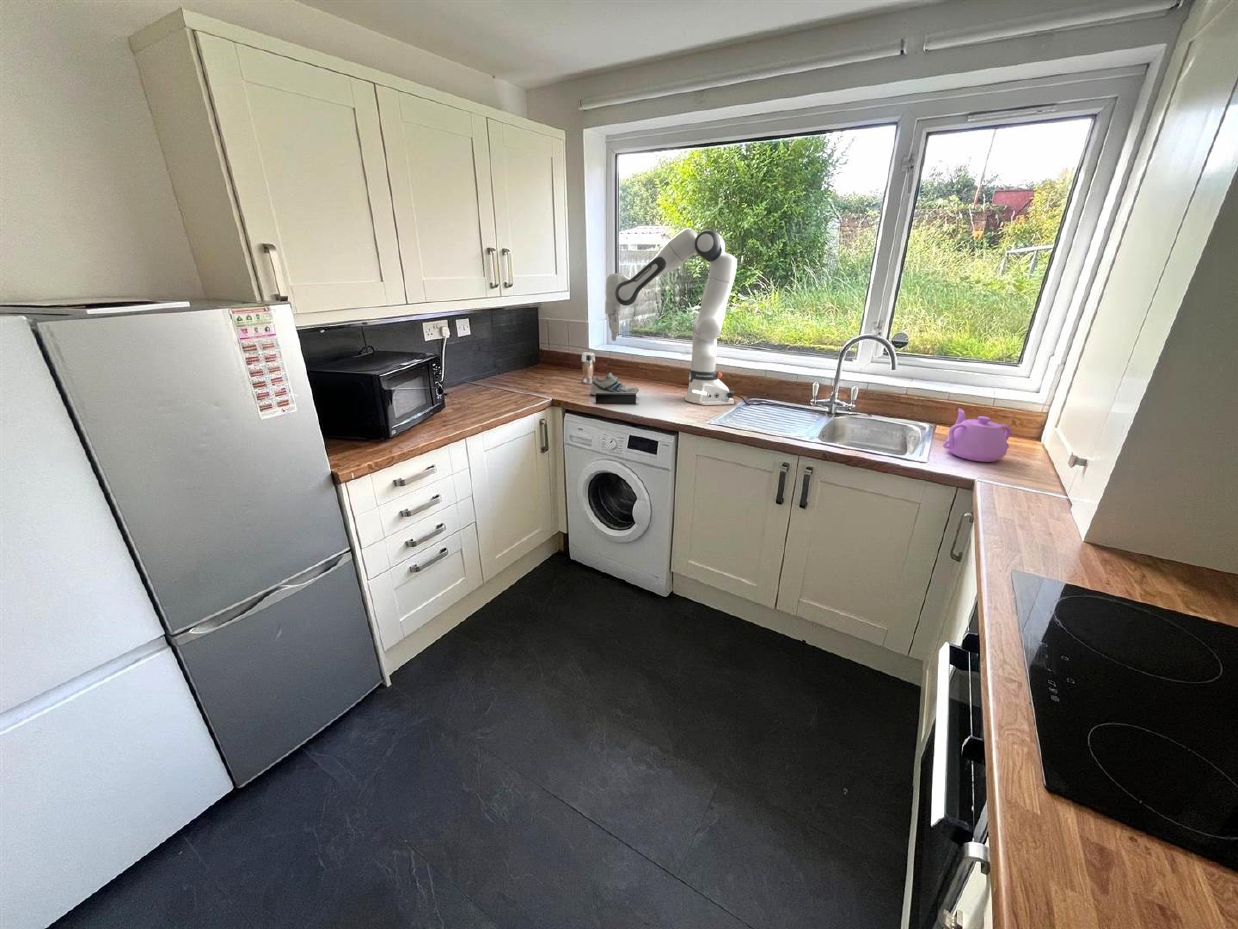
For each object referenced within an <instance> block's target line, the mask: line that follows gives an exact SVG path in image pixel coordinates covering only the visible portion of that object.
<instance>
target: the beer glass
mask: <svg viewBox="0 0 1238 929" xmlns="http://www.w3.org/2000/svg"><path fill="white" fill-rule="evenodd" d="M595 356H596V354H595V353H594V352H582V353H581V370H582V384H586V385H588V384H589V385H591V383H592V379H593V378H594V373H595V368H596V357H595Z"/></svg>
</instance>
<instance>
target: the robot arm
mask: <svg viewBox="0 0 1238 929" xmlns="http://www.w3.org/2000/svg"><path fill="white" fill-rule="evenodd" d="M726 251H727V243H726V241H725V239H724V238H723V237H722V235H721V234H720V233H718V232H716V231H714V230H712V229H705V230H702V231H700V232H699V233H698V232H697V231H696V230H694V229H693V228H691V227H686V228H684V229H683V230H681V231H679V232H678V233H677V234H675V235H674V236H673V237H672V238H670V240H668V242H666V243H665V244H664V245H663V247H661V249H660V250H659V251H658V252H657V253H656V254H655V256H654V257H653V258H652V259H651V260H650V261H649V262H648V263H647V264H645V266H644V267H643V268H642V269H641V270H640V271H638V272H637V273H636V274H635V275H634V276H633V277H631V278H629V277H627V276H626V275H625V274H624V273H622V272H615V273H611V274H609V275H608V276H607V277H606V281H605V303H604V313H605V314H606V315H607V318H608V328H609V330H610V332H611V340H612V341H613V342H616V341H617V335H618V333H619V332H620V319H621V318H622V315H624V314H625V307H626V306H630V305H635V304H637V303H639V302H641V301H643V299H644V298H645V294H646V289H645V287H646V286H648V285H649V284H650V283H651V282H652V281H654V280H655V279H656V278H657V277H659V276H661V275H664V274H668V273H671V272H673V271H675V270H677V269H678V268H679V267H681V266H682V265H683V264H684V263H686V261H687V260H689V259H690V258H691V257H692V256H694V255H698V256H699V257H701V258H702V259H703V260H705V261H707V262H709V264H710V269H709V273H708V276H707V279H706V283H705V286H704V291H703V293H702V298H701V303H700V308H699V312H698V315H697V316H696V317H695V318H694V320H693V324H692V347H691V348H692V349H691V350H692V351H691V363H690V368H689V373H688V387H687V392H686V394H685V397H684V400H685V401H687V402H689V403H692V404H697V405H701V406H719V405H723V406H724V405H734V404H735V399H734V397H737V398H740V399H741V400H742V401H743V402H744V404H745V405H748V406H760V405H763V406H764V405H767V406H776V407H784V408H791V409H798V410H804V411H812V412H818V413H825V414H830V413H829V412H830V411H829V410H828V411H829V412H828V411H827V410H820V409H814V408H807V407H802V406H795V405H790V404H789V405H787V404H779V403H770V402H758V403H750V402H747V401H746V400H745V398H744V397H742V396H741V395H739V394H736V393H735V390H730V389H729V387H728V386H727V385H726V384H725V383H724V382H723V381H722V380H720V378H722V377H723V373H721V372H720V371H717V369H716V367H717V358H718V357H717V356H718V337H719V336H720V335H721V332H722V329H723V325H724V320H725V316H726V312H727V306H728V302H729V298H730V295H731V292H732V288H733V285H734V282H735V278H736V273H737V267H738V259H737V258H736V257H735V255H733V254H731V253H728V252H726ZM834 412H835V413H834V414H833V415H843V416H859V415H861V414H857V413H858V412H857V413H852V412H851V413H852V414H849V412H837V411H834ZM867 415H868V416H869V415H871V416H872V414H871V413H869V414H867Z"/></svg>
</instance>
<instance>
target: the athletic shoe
mask: <svg viewBox="0 0 1238 929" xmlns="http://www.w3.org/2000/svg"><path fill="white" fill-rule="evenodd" d="M639 391H640V389H639V387H638V386H637V385H633V386H627V385H626V384H623V383H622V382H621V381H620V380H619V377H618V376H614V375H613V373H612V372H608V373H607V374H606V378H602V379H601V378H600V377H599V376H598V375H595V376H593V379H592V383H591V384H590V388H589V394H590V395H591V396H594V397H596V392H636V395H637V394H638V393H639Z"/></svg>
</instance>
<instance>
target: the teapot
mask: <svg viewBox="0 0 1238 929" xmlns="http://www.w3.org/2000/svg"><path fill="white" fill-rule="evenodd" d="M957 411H958V415H957V416H958V417H957V419H956V422H955V423H954V424H953V425H952V426H951V427H949V430H948V437H947V438H946V440H945V441H944V442H943V443H942V446H943V448H944V449H945V450H948V451H949V452H950V453H951V454H952V455H953V456H957V457H959V458H962V459H965V460H966V461H971V462H972V461H975V462H983V463H984V462H985V463H986V462H987V463H991V462H997V461H999V460H1001V459H1002V458H1004V457H1005V456H1006V455H1007V451H1008V449H1009V448H1010V447H1009V443H1008V440H1009V438H1010V436H1011V434H1012V429H1011V427H1010V426H1009V425H1007V424H999V423H996V422H993V421H990V420H991V418H990V417H988V416H984V415H979V416H977V419H975V418H969V419H966V412H965V411H964V409H962V408H961V407H957ZM1004 429H1005V431H1004Z"/></svg>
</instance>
